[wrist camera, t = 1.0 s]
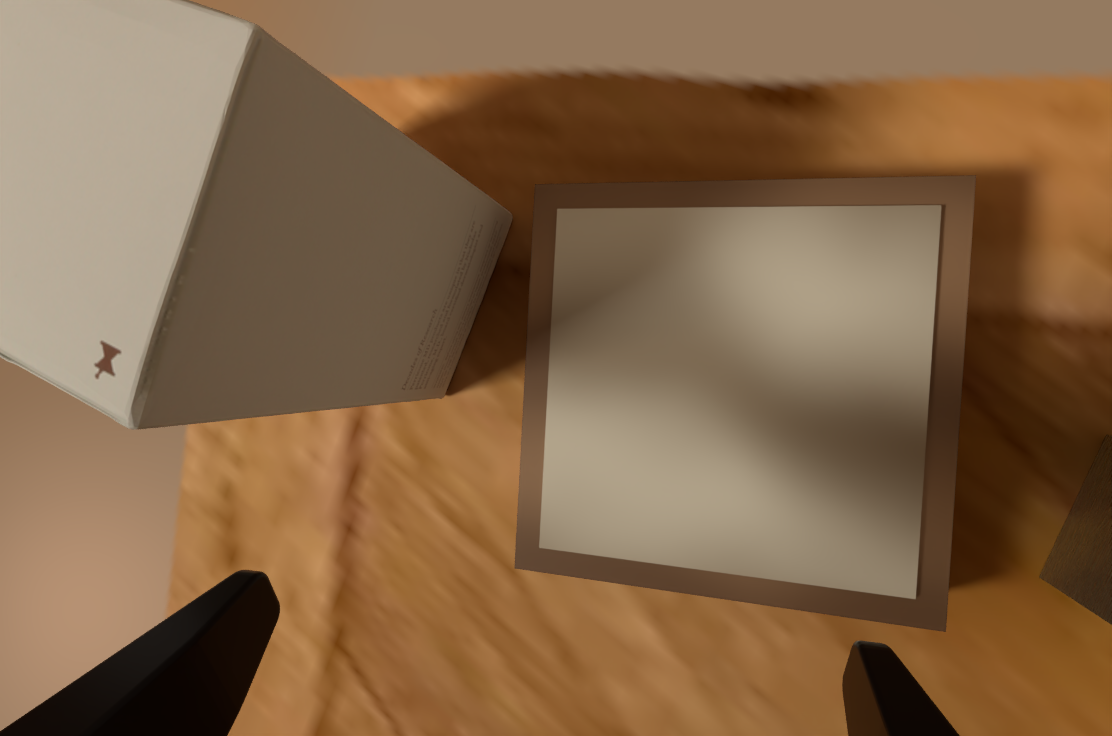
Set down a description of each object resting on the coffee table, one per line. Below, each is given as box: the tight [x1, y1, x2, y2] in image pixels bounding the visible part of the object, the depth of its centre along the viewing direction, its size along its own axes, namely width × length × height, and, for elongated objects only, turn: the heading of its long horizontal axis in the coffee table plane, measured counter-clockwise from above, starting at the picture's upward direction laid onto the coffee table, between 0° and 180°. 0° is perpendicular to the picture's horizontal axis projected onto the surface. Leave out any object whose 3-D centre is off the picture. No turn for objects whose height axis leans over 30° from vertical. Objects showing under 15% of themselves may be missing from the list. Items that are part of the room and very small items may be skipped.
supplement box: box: [0, 0, 513, 429], centre depth 17 cm, size 7×7×13 cm
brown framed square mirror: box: [515, 175, 976, 632], centre depth 19 cm, size 12×12×3 cm
